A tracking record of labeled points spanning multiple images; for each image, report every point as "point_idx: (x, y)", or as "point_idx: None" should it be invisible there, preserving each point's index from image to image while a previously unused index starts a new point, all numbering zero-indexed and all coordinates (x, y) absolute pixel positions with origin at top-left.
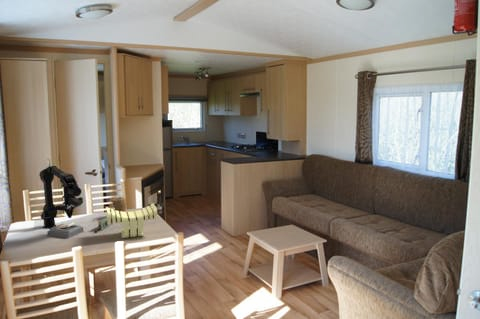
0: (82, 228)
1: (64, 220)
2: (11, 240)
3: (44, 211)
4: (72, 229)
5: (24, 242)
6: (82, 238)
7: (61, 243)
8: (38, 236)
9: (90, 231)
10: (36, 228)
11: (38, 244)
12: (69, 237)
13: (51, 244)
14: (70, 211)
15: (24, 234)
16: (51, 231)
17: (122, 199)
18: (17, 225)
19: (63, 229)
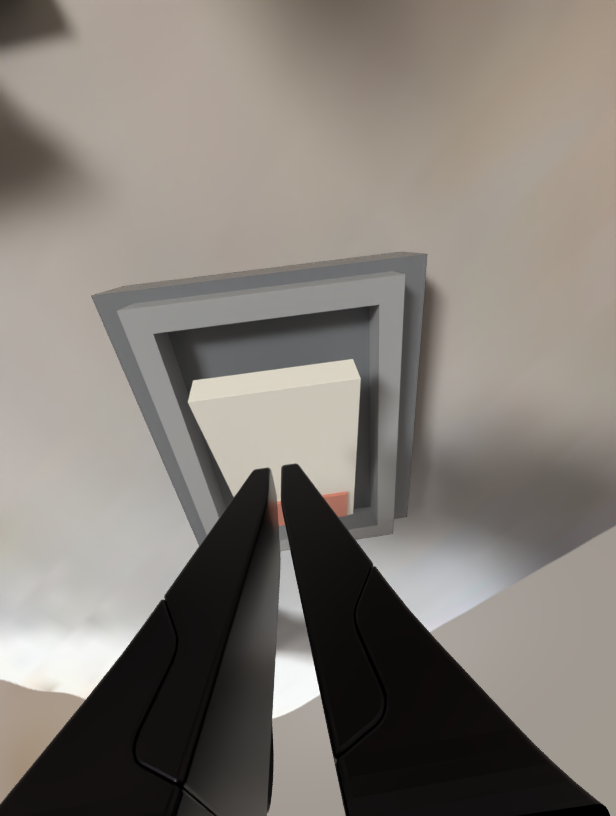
0: (115, 291)
1: (62, 640)
2: (514, 577)
3: (268, 807)
4: (329, 282)
5: (549, 503)
6: (351, 4)
7: (585, 179)
8: (418, 525)
9: (46, 178)
10: (288, 632)
11: (600, 388)
12: (389, 253)
13: (611, 273)
14: (347, 676)
15: (404, 602)
16: (400, 490)
17: None
18: (293, 702)
19: (382, 394)
